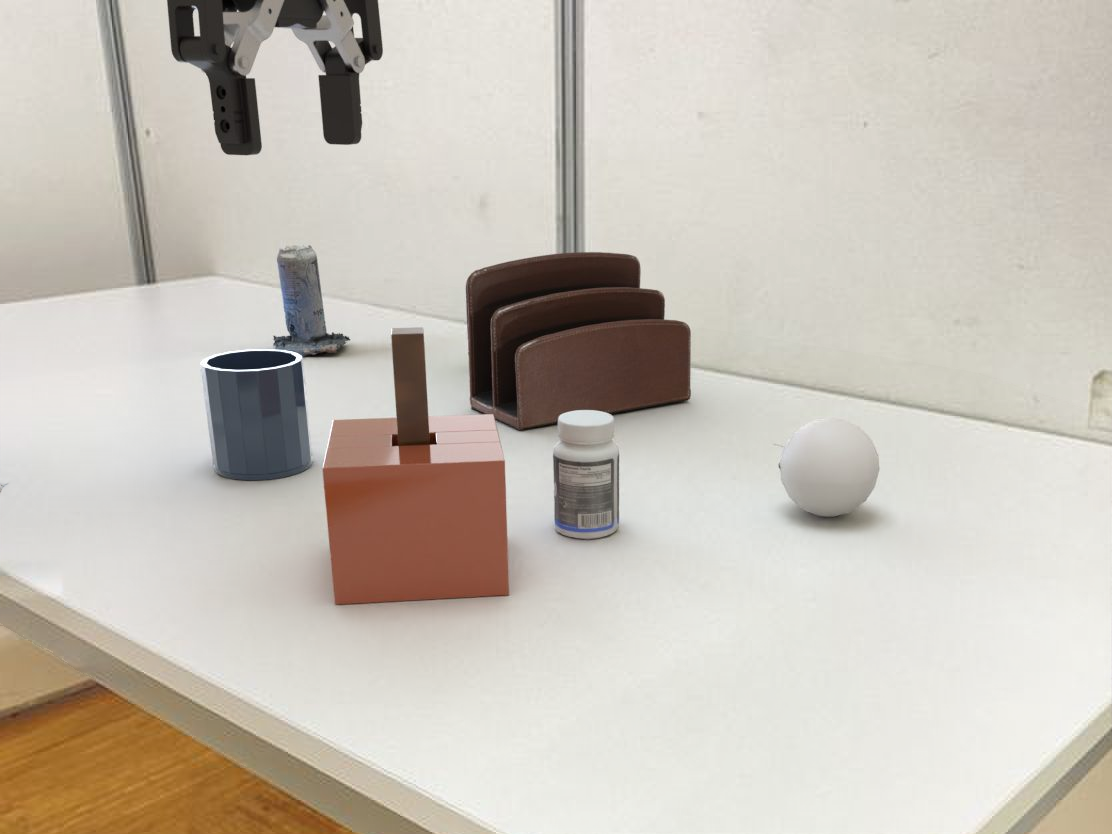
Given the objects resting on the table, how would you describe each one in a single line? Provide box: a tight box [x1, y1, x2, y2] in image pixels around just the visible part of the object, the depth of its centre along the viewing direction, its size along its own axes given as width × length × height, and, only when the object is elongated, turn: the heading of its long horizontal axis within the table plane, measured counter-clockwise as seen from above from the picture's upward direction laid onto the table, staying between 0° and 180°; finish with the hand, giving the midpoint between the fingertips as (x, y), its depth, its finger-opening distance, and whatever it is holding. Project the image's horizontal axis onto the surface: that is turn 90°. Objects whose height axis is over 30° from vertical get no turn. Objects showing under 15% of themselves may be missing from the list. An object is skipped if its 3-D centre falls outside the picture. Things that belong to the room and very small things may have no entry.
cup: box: [199, 348, 313, 481], centre depth 104 cm, size 8×8×9 cm
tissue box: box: [321, 413, 510, 605], centre depth 83 cm, size 11×11×9 cm
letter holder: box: [465, 251, 692, 431], centre depth 121 cm, size 10×20×14 cm, turn 123°
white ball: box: [771, 417, 881, 518], centre depth 94 cm, size 10×7×7 cm
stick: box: [390, 326, 430, 446], centre depth 82 cm, size 2×2×16 cm
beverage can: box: [272, 244, 351, 358], centre depth 144 cm, size 9×8×12 cm
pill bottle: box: [552, 410, 620, 540], centre depth 90 cm, size 5×5×8 cm
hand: (294, 149), depth 69 cm, fingers open, 8 cm apart
